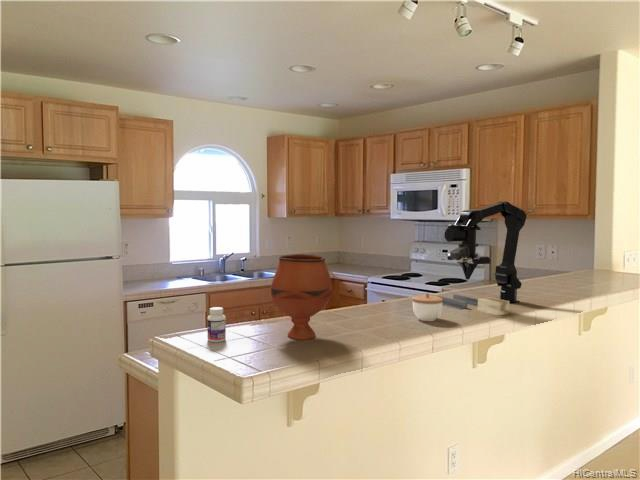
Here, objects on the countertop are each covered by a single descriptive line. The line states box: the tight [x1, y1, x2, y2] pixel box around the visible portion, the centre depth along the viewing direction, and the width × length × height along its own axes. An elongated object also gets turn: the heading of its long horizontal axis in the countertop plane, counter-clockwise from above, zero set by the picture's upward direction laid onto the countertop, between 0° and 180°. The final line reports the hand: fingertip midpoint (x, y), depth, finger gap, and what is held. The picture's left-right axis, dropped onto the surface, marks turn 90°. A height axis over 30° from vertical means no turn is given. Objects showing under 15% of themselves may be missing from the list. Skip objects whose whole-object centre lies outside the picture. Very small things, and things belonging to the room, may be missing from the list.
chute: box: [436, 293, 478, 310], centre depth 214 cm, size 15×16×2 cm
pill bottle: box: [206, 306, 227, 343], centre depth 154 cm, size 5×5×10 cm
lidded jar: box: [411, 292, 443, 322], centre depth 185 cm, size 11×11×9 cm
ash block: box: [477, 296, 510, 316], centre depth 198 cm, size 6×10×5 cm, turn 34°
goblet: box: [270, 253, 333, 340], centre depth 159 cm, size 19×19×25 cm
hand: (467, 279), depth 209 cm, fingers closed
